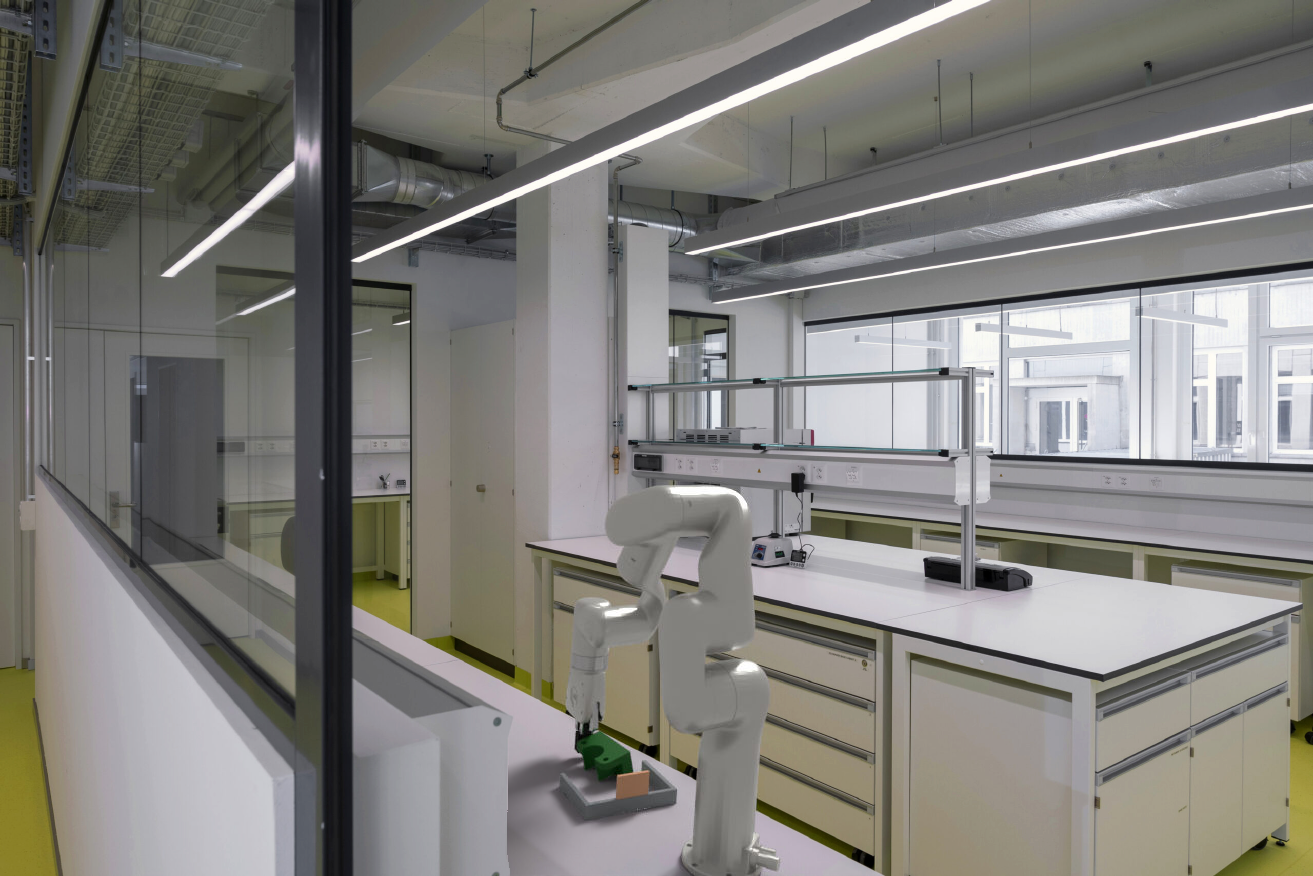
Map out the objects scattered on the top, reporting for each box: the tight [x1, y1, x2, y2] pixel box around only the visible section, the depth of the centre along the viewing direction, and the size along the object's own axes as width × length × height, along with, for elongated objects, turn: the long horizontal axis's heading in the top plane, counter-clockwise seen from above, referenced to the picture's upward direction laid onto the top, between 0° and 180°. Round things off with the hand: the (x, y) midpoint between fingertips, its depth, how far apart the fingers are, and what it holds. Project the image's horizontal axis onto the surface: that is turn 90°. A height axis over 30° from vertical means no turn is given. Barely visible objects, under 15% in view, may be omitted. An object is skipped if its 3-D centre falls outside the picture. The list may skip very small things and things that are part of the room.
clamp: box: [577, 730, 634, 783], centre depth 150 cm, size 12×6×9 cm, turn 30°
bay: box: [558, 759, 678, 821], centre depth 142 cm, size 13×18×6 cm
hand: (583, 750), depth 157 cm, fingers closed
